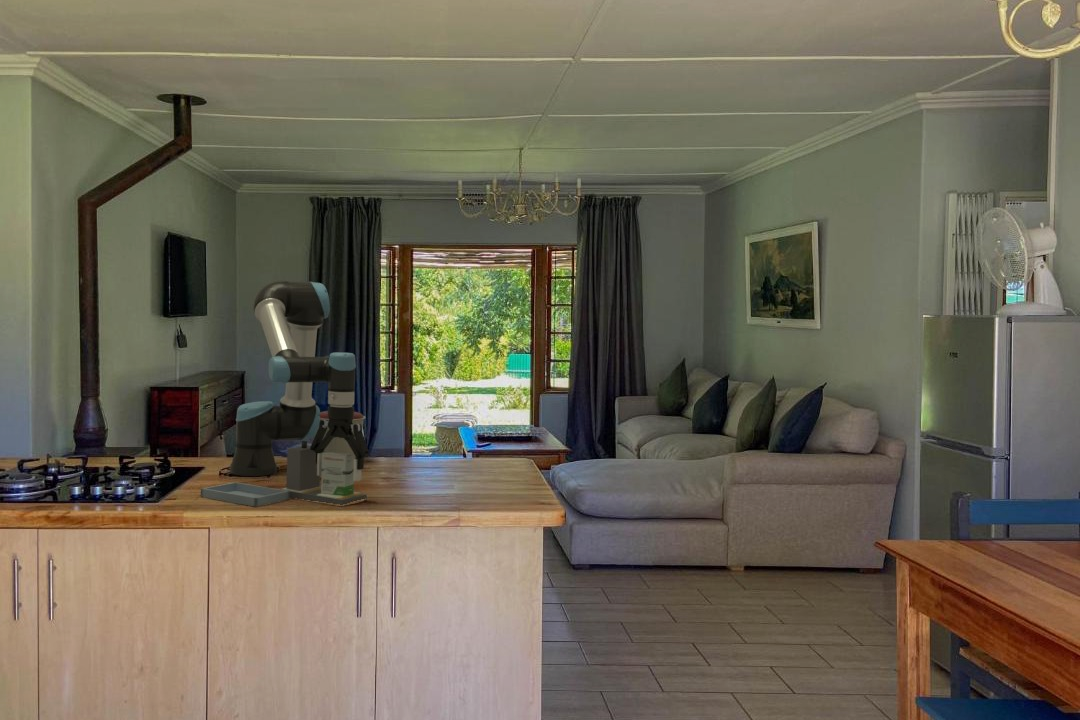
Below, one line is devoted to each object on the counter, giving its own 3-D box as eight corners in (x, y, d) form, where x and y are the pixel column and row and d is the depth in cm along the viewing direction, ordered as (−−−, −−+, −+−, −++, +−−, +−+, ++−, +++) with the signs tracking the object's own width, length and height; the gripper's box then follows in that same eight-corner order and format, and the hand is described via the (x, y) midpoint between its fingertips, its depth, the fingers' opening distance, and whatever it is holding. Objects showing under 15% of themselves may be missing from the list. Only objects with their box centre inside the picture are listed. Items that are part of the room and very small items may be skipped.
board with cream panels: (278, 496, 305) (278, 488, 305) (303, 490, 315) (304, 483, 314) (342, 507, 293) (342, 499, 293) (366, 501, 303) (366, 493, 303)
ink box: (354, 493, 302) (355, 453, 301) (345, 496, 297) (346, 455, 296) (329, 490, 305) (330, 450, 304) (319, 493, 300) (321, 452, 300)
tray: (200, 497, 299) (200, 488, 299) (235, 490, 311) (235, 482, 311) (255, 507, 289) (256, 498, 289) (289, 499, 301) (289, 491, 300)
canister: (339, 468, 356) (340, 407, 355) (302, 461, 366) (303, 402, 365) (374, 462, 371) (376, 404, 370) (338, 456, 381) (339, 399, 380)
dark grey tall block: (286, 488, 305) (287, 442, 304) (306, 484, 313) (308, 438, 312) (299, 490, 302) (300, 443, 301) (319, 486, 310) (320, 440, 309)
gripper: (299, 402, 302) (297, 474, 303) (366, 410, 290) (364, 484, 291) (316, 401, 309) (314, 471, 310) (383, 408, 297) (381, 481, 298)
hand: (338, 477), depth 301 cm, fingers open, 13 cm apart
